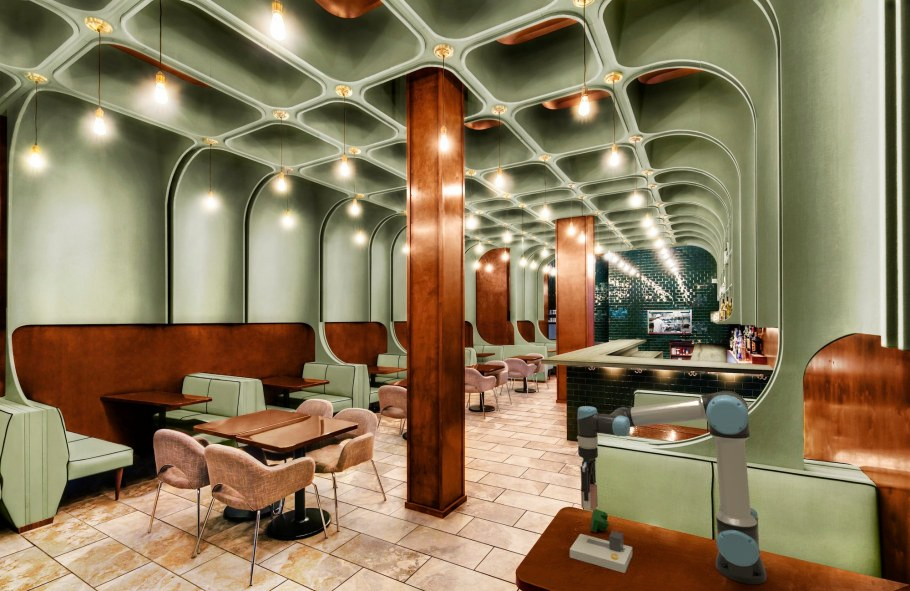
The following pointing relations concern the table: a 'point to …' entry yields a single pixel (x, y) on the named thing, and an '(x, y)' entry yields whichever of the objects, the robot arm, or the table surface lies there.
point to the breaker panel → (600, 553)
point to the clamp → (599, 521)
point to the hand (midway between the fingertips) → (589, 505)
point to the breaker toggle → (616, 541)
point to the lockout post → (593, 497)
